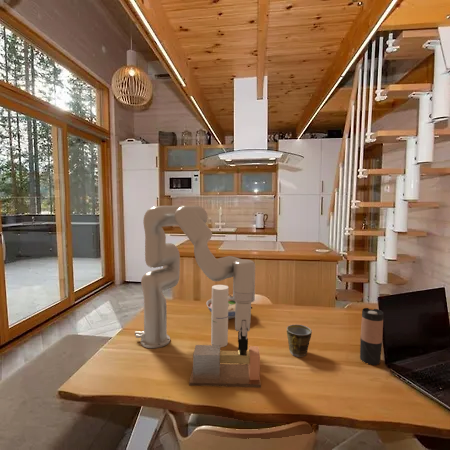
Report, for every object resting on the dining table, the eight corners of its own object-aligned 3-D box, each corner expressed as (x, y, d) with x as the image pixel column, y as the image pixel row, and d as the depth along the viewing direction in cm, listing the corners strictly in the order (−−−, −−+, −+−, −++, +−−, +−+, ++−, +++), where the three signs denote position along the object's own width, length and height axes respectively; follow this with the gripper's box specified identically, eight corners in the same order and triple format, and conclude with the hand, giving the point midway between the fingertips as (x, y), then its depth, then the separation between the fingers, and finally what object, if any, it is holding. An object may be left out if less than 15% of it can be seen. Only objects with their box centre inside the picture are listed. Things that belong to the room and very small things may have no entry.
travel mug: (372, 367, 113) (375, 316, 111) (355, 357, 120) (357, 309, 118) (385, 362, 116) (388, 312, 115) (367, 353, 123) (370, 306, 121)
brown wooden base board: (189, 385, 100) (189, 358, 100) (193, 365, 112) (193, 341, 112) (260, 387, 100) (261, 360, 99) (257, 367, 112) (258, 343, 111)
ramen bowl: (199, 311, 166) (199, 297, 166) (235, 305, 176) (235, 292, 175) (216, 329, 144) (217, 313, 143) (257, 321, 153) (258, 306, 153)
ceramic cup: (290, 344, 130) (291, 322, 129) (313, 351, 125) (314, 327, 124) (279, 358, 118) (280, 334, 118) (305, 365, 113) (306, 340, 113)
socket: (249, 379, 102) (250, 356, 102) (248, 368, 109) (249, 346, 109) (259, 380, 102) (260, 356, 102) (257, 368, 109) (258, 346, 109)
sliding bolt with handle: (211, 363, 104) (211, 329, 103) (212, 358, 107) (212, 326, 106) (255, 364, 104) (256, 330, 103) (255, 359, 107) (256, 327, 106)
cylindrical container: (225, 348, 126) (226, 290, 124) (209, 346, 127) (210, 288, 125) (228, 340, 133) (229, 285, 131) (213, 338, 134) (214, 284, 132)
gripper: (232, 288, 112) (231, 335, 114) (233, 303, 95) (232, 358, 97) (252, 288, 112) (251, 335, 113) (256, 304, 95) (255, 359, 97)
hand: (242, 345), depth 105 cm, fingers open, 4 cm apart
